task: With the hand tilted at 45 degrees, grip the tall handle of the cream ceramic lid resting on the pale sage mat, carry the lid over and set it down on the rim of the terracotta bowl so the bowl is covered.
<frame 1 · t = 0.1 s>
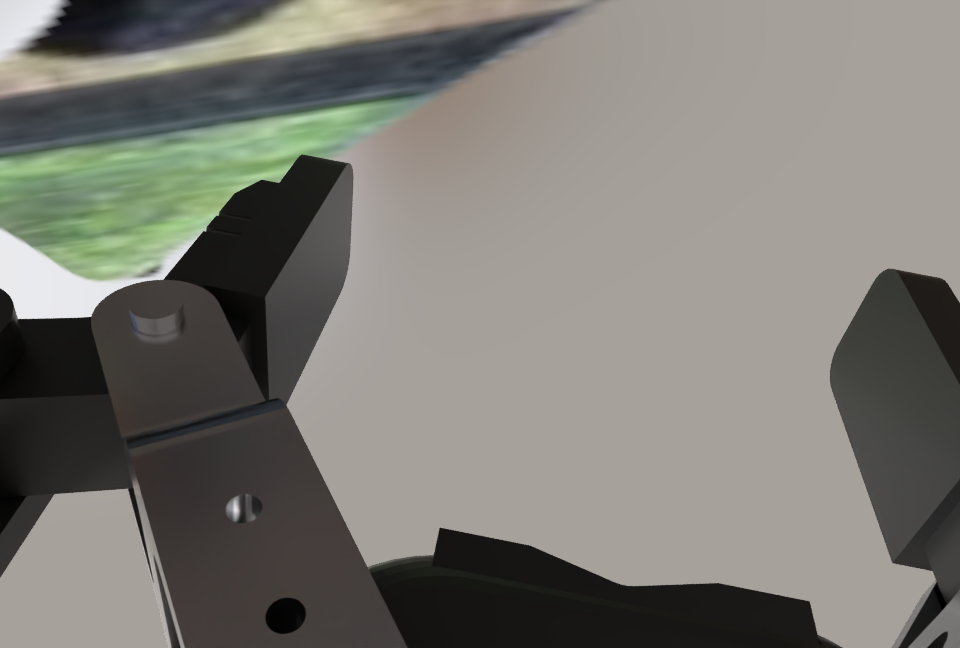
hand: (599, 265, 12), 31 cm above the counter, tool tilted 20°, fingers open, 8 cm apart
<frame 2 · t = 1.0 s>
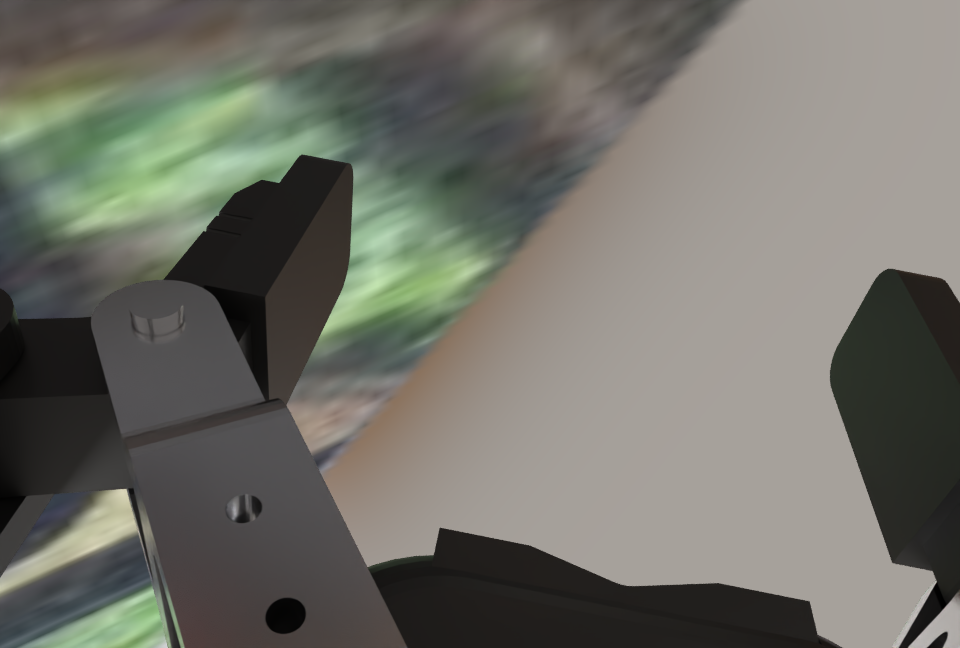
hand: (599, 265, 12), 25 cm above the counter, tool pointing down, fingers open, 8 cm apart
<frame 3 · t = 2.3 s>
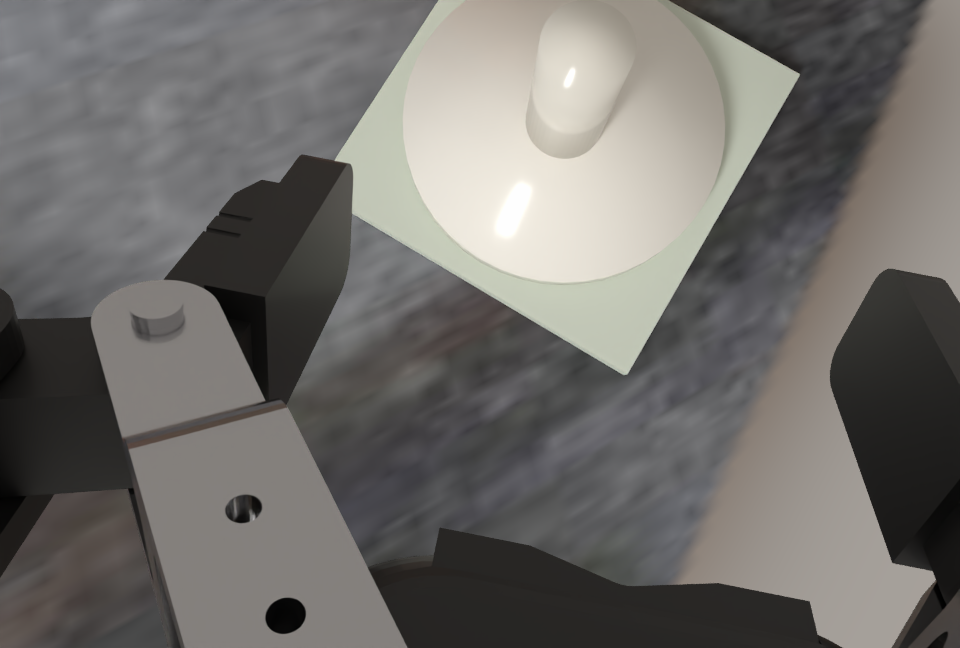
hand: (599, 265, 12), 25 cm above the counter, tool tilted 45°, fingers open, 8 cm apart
lid: (561, 131, 37), point 1 cm above the counter, touching mat
mat: (559, 137, 38), on the counter
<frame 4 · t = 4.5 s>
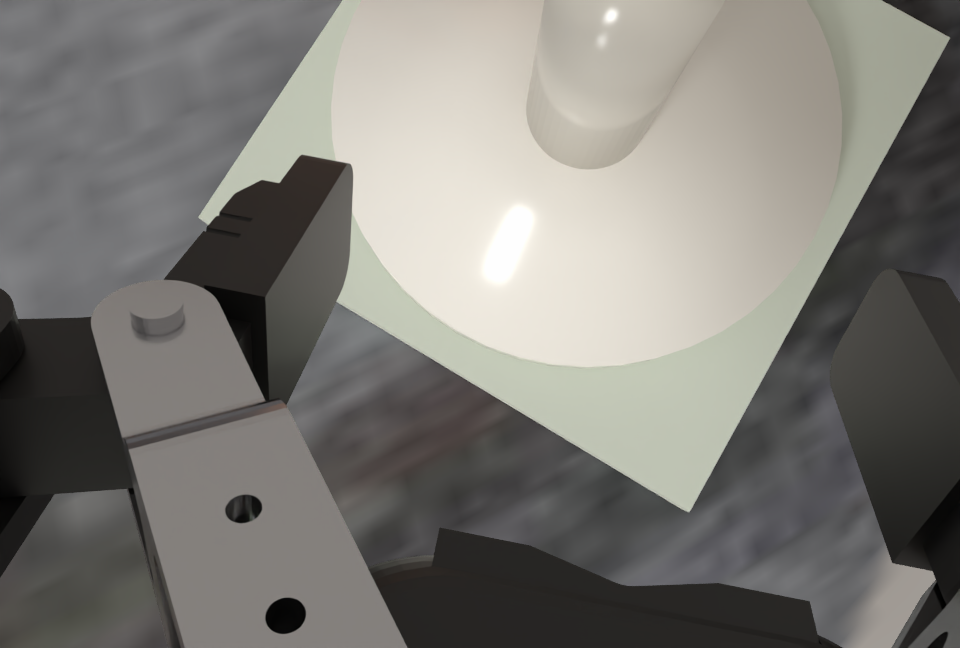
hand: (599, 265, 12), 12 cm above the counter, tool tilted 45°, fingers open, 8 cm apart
lid: (581, 125, 24), point 1 cm above the counter, touching mat
mat: (578, 135, 24), on the counter
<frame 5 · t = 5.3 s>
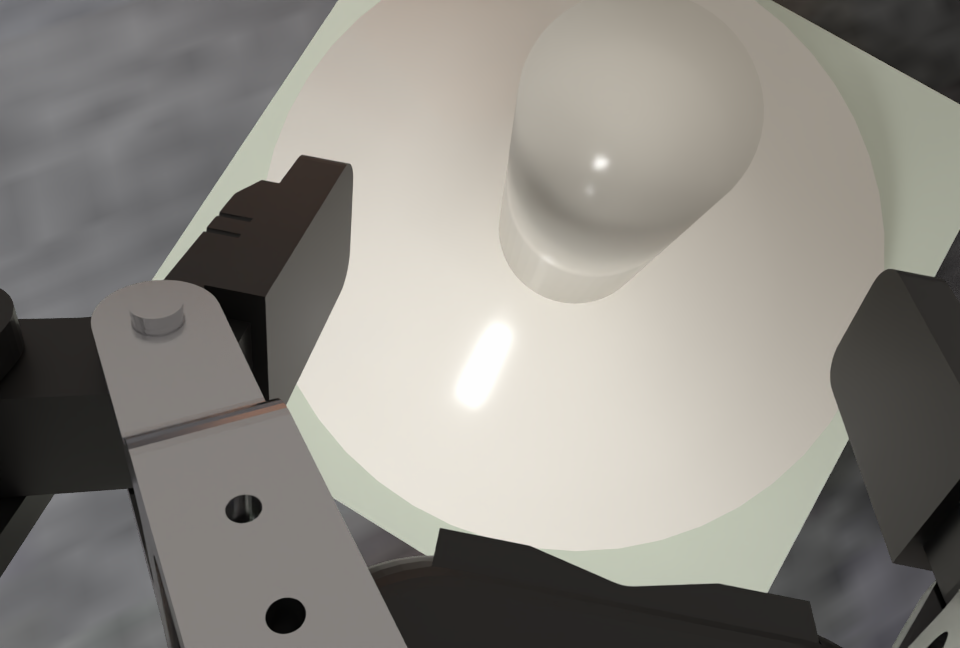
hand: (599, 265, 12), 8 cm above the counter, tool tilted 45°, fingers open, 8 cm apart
lid: (567, 241, 20), point 1 cm above the counter, touching mat
mat: (563, 248, 20), on the counter
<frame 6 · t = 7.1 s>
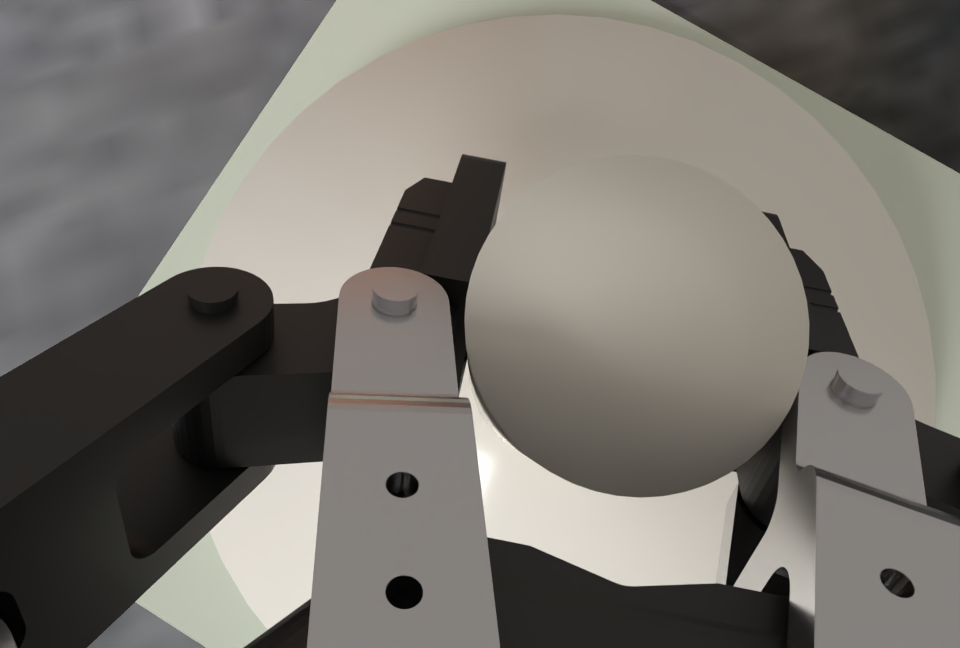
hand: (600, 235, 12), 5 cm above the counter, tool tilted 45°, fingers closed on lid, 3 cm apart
lid: (553, 373, 16), point 1 cm above the counter, touching gripper, mat
mat: (548, 374, 17), on the counter
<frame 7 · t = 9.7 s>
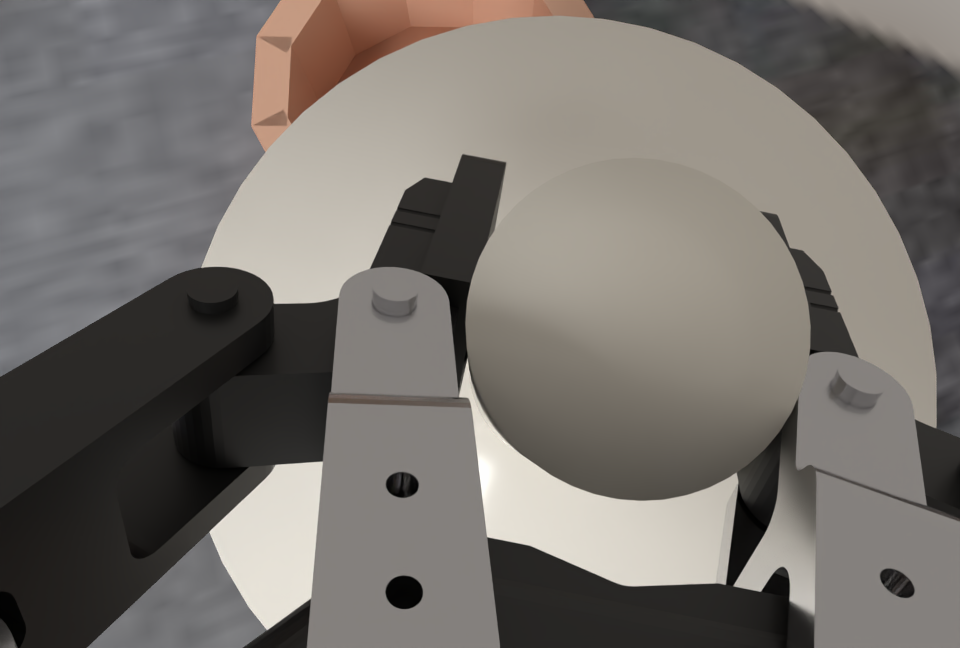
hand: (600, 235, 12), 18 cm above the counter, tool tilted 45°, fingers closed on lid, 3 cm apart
bowl: (440, 147, 32), on the counter
lid: (553, 374, 16), point 14 cm above the counter, touching gripper
when the fingers open (12 cm above the counter, at t = 12.9 s): lid drops 1 cm, resting on bowl.
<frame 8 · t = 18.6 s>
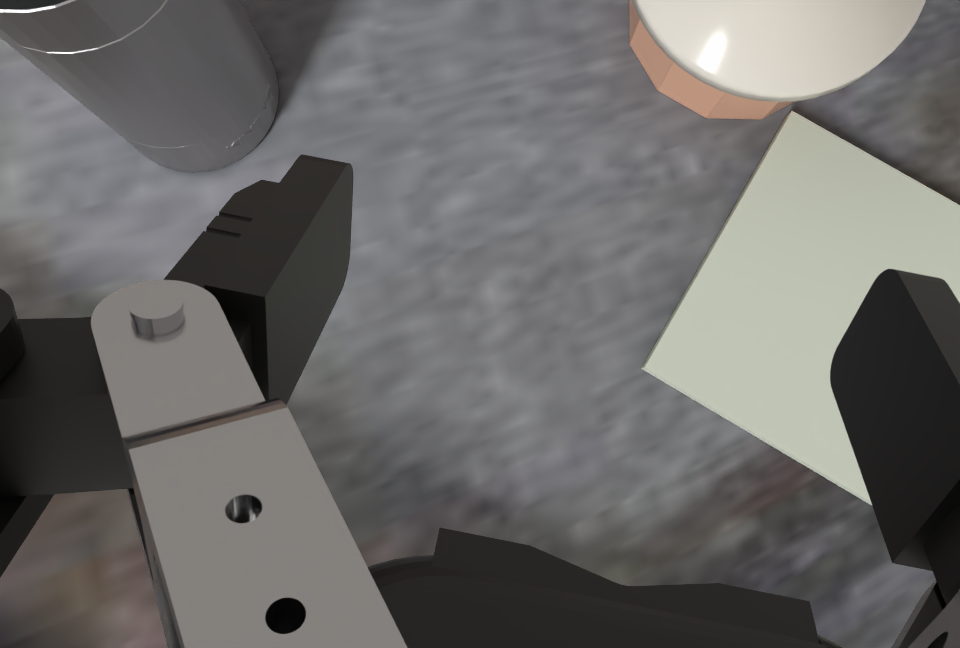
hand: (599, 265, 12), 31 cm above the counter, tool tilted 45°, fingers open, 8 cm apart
bowl: (731, 20, 45), on the counter
mat: (848, 316, 43), on the counter
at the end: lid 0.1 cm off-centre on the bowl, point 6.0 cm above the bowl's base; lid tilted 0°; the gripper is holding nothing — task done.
